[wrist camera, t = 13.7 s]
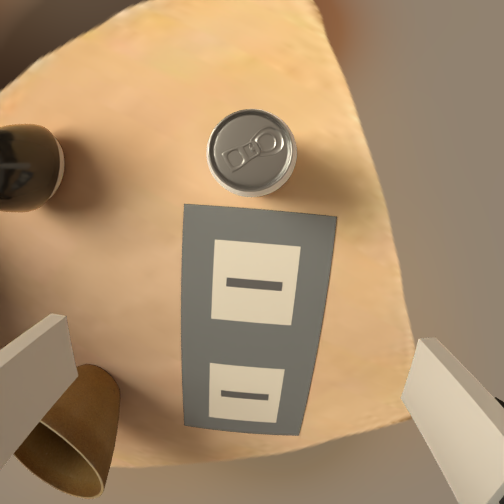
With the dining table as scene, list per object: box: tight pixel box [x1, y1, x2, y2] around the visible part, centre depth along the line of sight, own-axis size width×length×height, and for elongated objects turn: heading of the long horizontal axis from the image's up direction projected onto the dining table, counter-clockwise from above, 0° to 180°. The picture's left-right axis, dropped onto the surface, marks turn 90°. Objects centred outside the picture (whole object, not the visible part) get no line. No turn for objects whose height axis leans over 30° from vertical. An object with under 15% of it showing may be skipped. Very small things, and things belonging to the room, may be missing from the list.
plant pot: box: [13, 364, 120, 499], centre depth 31 cm, size 15×15×16 cm
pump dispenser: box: [0, 124, 64, 212], centre depth 25 cm, size 10×10×15 cm
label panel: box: [181, 204, 337, 436], centre depth 36 cm, size 16×30×1 cm, turn 176°
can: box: [207, 109, 297, 197], centre depth 26 cm, size 6×6×12 cm
